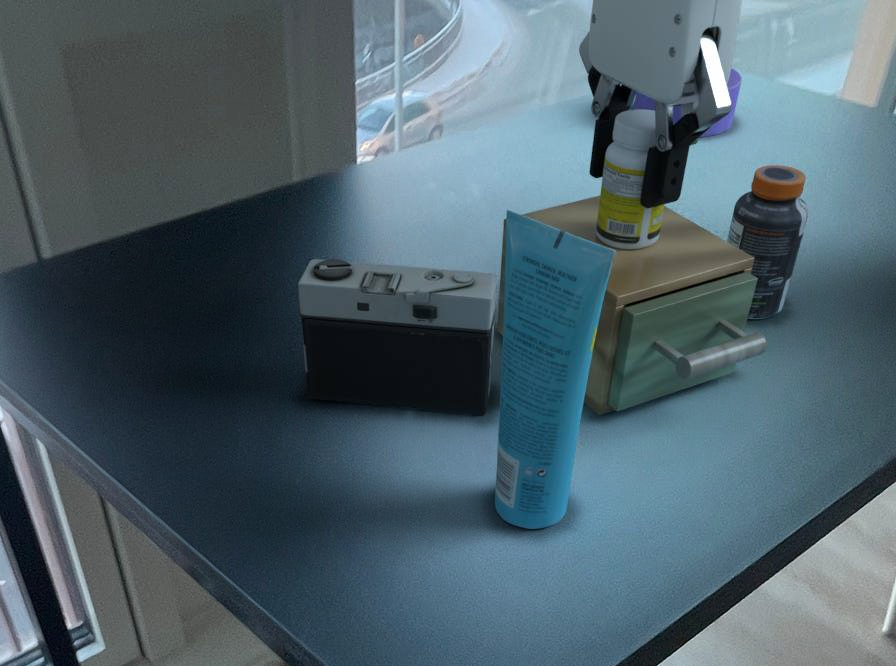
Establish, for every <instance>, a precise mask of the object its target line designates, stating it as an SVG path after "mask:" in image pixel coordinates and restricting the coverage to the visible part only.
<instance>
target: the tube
mask: <svg viewBox="0 0 896 666" xmlns="http://www.w3.org/2000/svg"><path fill="white" fill-rule="evenodd" d="M505 217H506V218H505V219H506V255H505V296H504V324H503V336H502V350H501V351H502V353H501V372H500V373H501V375H500V394H499V395H500V396H499V397H500V398H499V400H500V401H499V415H498V416H499V417H498V418H499V419H498V434H497V435H498V436H497V437H498V438H497V456H496V473H495V474H496V475H495V494H494V508H495V510H496V512H497V514H498V515H499V516H500V518H501V519H502V520H503V521H505V522H507V523H508V524H511V525H513V526H515V527H519V528H524V529H529V530H535V529H542V528H547V527H551V526H553V525H556V524H557V523H559V522H560V521H562V519H564V517H565V515H566V513H567V508H568V504H569V503H568V502H569V495H570V490H571V482H572V477H573V470H574V464H575V463H574V462H575V458H576V457H575V456H576V451H577V450H576V449H577V443H578V439H579V438H578V437H579V431H580V424H581V419H582V414H583V408H584V403H583V402H584V396H585V391H586V385H587V379H588V374H589V368H590V363H591V358H592V352H593V347H594V342H595V337H596V332H597V327H598V322H599V317H600V313H601V308H602V303H603V299H604V295H605V290H606V286H607V283H608V279H609V275H610V271H611V267H612V262H613V258H614V256H615V253H616V251H615V250H613V249H610V248H607V247H604V246H602V245H599V244H596V243H593V242H591V241H588V240H585V239H583V238H580V237H577V236H574V235H572V234H569V233H567V232H563V231H561V230H559V229H557V228H554V227H551V226H549V225H546V224H544V223H542V222H539V221H537V220H534V219H531V218H529V217H526V216H523V215H522V214H519V213H518V212H514V211H513V210H510V209H507V210H506V216H505Z"/></svg>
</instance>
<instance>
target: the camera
mask: <svg viewBox="0 0 896 666" xmlns="http://www.w3.org/2000/svg"><path fill="white" fill-rule="evenodd" d="M497 285H498V276H497V275H496V273H495V274H494V273H492V272H481V271H468V270H456V269H443V268H433V267H432V268H431V267H421V266H420V267H418V266H406V265H405V266H404V265H394V264H393V265H392V264H381V263H369V262H367V263H366V262H355V261H346V260H342V259H334V258H333V259H332V258H330V259H318V258H314V259H311V260H310V261H309V263H308V264H307V266H306V268H305V270H304V271H303V274H302V275H301V278H300V279H299V280H298V283H297V286H298V287H297V288H298V298H299V299H298V300H299V310H300V312H299V313H300V320H301V331H302V339H303V344H302V345H303V358H304V369H305V374H306V375H305V376H306V385H307V396H308V397H307V398H308V399H310V400H321V401H328V402H329V401H331V402H339V403H342V402H343V403H352V404H361V405H362V404H363V405H370V406H371V405H373V406H382V407H383V406H384V407H391V408H393V407H394V408H401V409H403V408H404V409H414V410H422V411H423V410H425V411H434V412H445V413H455V414H466V415H477V416H485V415H486V412H487V407H488V404H489V399H490V393H491V384H492V370H493V354H494V353H493V352H494V336H495V320H496V301H497Z"/></svg>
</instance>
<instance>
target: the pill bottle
mask: <svg viewBox="0 0 896 666" xmlns="http://www.w3.org/2000/svg"><path fill="white" fill-rule="evenodd" d="M805 183H806V174H805V173H804V172H803V171H801V170H800V169H798V168H795V167H792V166H786V165H779V164H778V165H776V164H771V165H764V166H761V167H760V166H759V167H758V168H757V169H756V170H755V171H754V174H753V178H752V182H751V185H750V187H751V190H750V191H747V192H746V193H744V194H743V195H741V196H740V197H739V198H738V199H737V200H736V202H735V204H734V207H733V212H732V216H731V220H730V225H729V230H728V234H727V239H726V241H727V242H728V243H730V244H732V245H734V246H735V247H737V248H739V249H741V250H742V251H744V252H746V253H748V254H749V255H751V256H753V257H754V262H753V266H752V270H751V274H752V275H753V276H755V277H757V278H758V279H757V283H756V287H755V291H754V295H753V299H752V303H751V307H750V310H749V314H748V318H747V320H748V319H750V320H762V319H767V318H770V317H773V316H776V315H778V314H780V312H781V311H782V310H783V308H784V305H785V302H786V298H787V295H788V291H789V287H790V283H791V280H792V276H793V273H794V269H795V266H796V263H797V259H798V258H797V257H798V254H799V251H800V247H801V244H802V240H803V236H804V232H805V229H806V224H807V221H808V218H809V208H808V205H807V203H806V202H805V200H803V199H802V198H801V195H802V194H803V192H804V187H805Z"/></svg>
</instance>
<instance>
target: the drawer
mask: <svg viewBox="0 0 896 666" xmlns="http://www.w3.org/2000/svg"><path fill="white" fill-rule="evenodd" d="M757 279H758V278H757V277H755V276H753V275H752V274H750V273H748V272H744V273H741V274H738V275H734V276H731V277H727V278H725V276H721V277H718V278H714V279H711V280H708V281H704V282H701V283H697V284H694V285H691V286H687V287H684V288H680V289H677V290H674V291H670V292H667V293H663V294H660V295H656V296H653V297H650V298H646V299H643V300H639V301H636V302H633V303H629V304H626V305H624V308H623V313H622V319H621V326H620V332H619V338H618V344H617V351H616V357H615V363H614V369H613V376H612V382H611V388H610V394H609V401H608V404H609V405H610V406H611V407H612V408H614V409H615V410H614V411H616V412H620V411H623V410H626V409H629V408H632V407H635V406H637V405H641V404H645V403H646V402H649V401H653V400H655V399H658V398H662V397H665V396H667V395H670V394H674V393H677V392H680V391H682V390H685V389H688V388H691V387H694V386H698V385H700V384H703V383H706V382H710V381H712V380H716V379H718V378H721V377H724V376H727V375H729V374H733V373H734V372H735V368H736V365H737V363H739V362H742V361H743V362H744V361H746V360H749V359H751V358H755V357H758V356H760V355H763V354H764V353H765V352H766V349H767V346H768V345H767V339H766V338H765V335H763V333H761V332H753V333H750V334H748V333H746V332H745V329H746V326H747V322H748V314H749V310H750V307H751V303H752V299H753V295H754V291H755V287H756V283H757Z"/></svg>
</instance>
